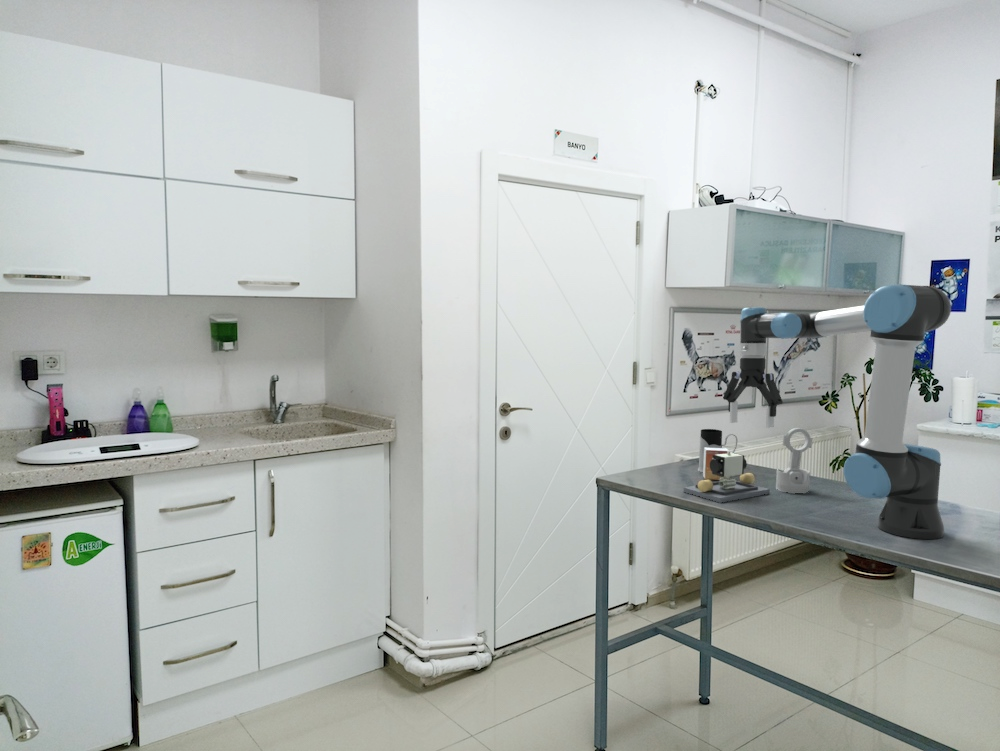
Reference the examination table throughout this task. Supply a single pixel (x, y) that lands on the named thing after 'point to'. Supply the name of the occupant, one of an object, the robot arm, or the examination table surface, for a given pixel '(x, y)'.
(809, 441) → the engine component
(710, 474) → the small box
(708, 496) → the mounting plate
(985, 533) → the examination table surface
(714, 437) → the glass holder
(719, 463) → the pneumatic valve
